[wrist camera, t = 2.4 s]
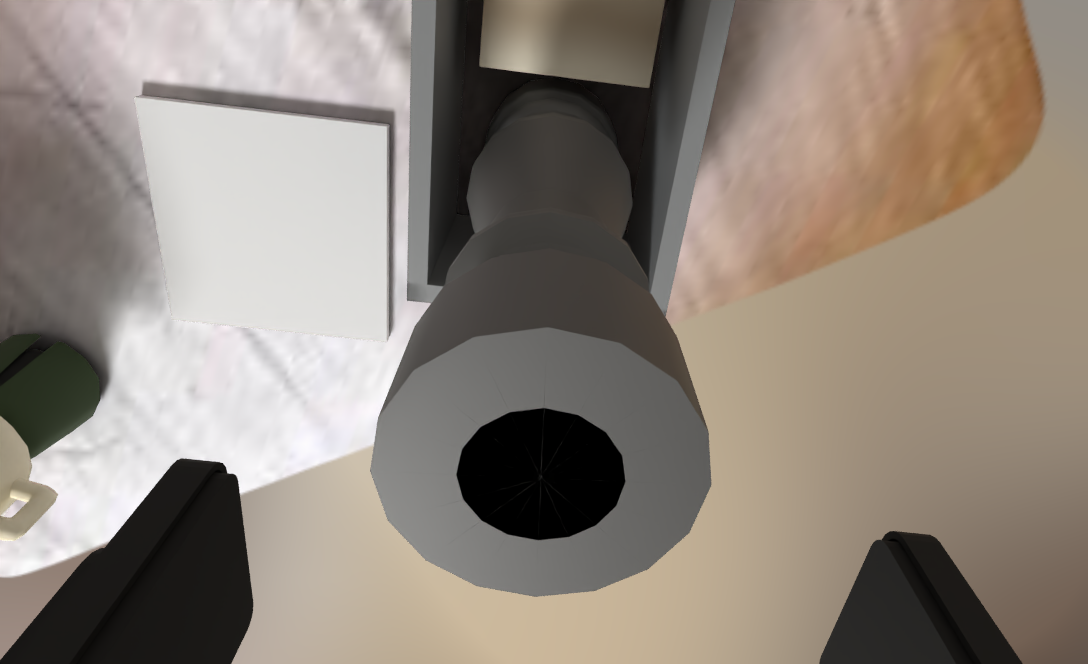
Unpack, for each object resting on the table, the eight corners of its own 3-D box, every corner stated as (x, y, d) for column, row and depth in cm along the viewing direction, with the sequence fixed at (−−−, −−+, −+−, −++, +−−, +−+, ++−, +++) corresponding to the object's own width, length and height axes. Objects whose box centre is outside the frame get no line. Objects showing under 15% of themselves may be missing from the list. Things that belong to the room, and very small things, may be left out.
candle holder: (489, 73, 32) (334, 302, 10) (619, 79, 32) (762, 320, 10) (488, 201, 35) (370, 599, 13) (608, 206, 35) (699, 613, 13)
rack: (455, -139, 28) (414, -185, 20) (706, -106, 28) (765, -137, 20) (440, 227, 35) (407, 300, 27) (639, 249, 36) (662, 328, 28)
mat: (140, 95, 32) (134, 97, 32) (389, 124, 33) (386, 126, 32) (177, 315, 38) (171, 319, 38) (388, 337, 39) (386, 342, 38)
